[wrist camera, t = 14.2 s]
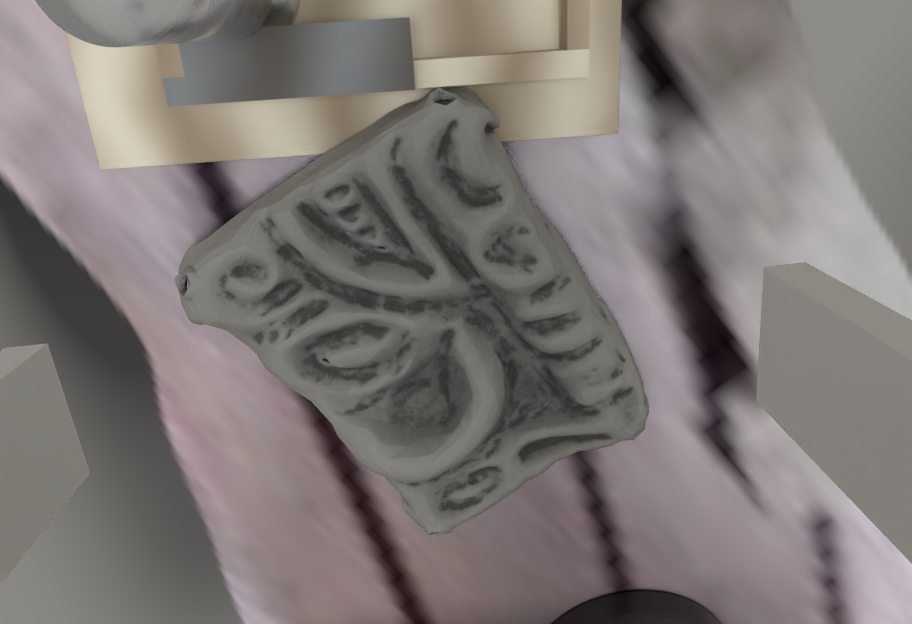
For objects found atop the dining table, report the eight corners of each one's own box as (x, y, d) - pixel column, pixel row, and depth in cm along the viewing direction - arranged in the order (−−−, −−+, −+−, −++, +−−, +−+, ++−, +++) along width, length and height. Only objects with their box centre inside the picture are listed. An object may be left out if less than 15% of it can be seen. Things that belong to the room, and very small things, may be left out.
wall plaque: (160, 266, 37) (133, 295, 34) (459, 60, 34) (464, 68, 30) (409, 544, 46) (409, 590, 42) (668, 404, 42) (691, 442, 39)
